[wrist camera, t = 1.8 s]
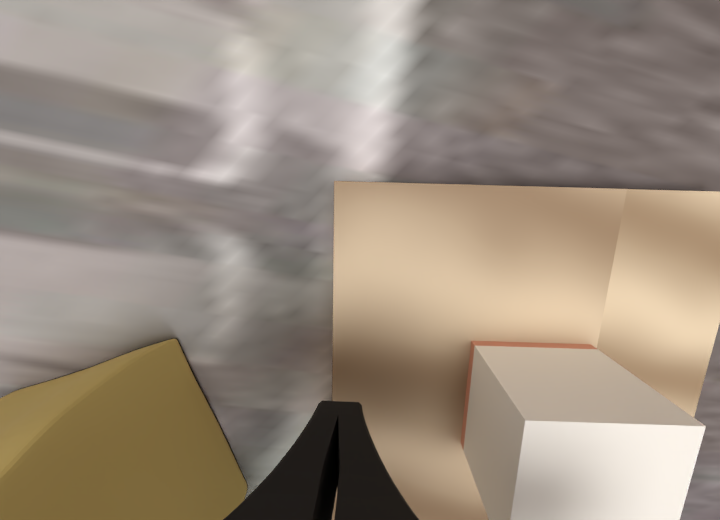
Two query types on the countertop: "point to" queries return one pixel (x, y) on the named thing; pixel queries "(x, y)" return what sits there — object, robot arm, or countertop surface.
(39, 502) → the cheese
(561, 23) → the countertop surface
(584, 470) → the white cube
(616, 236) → the step
